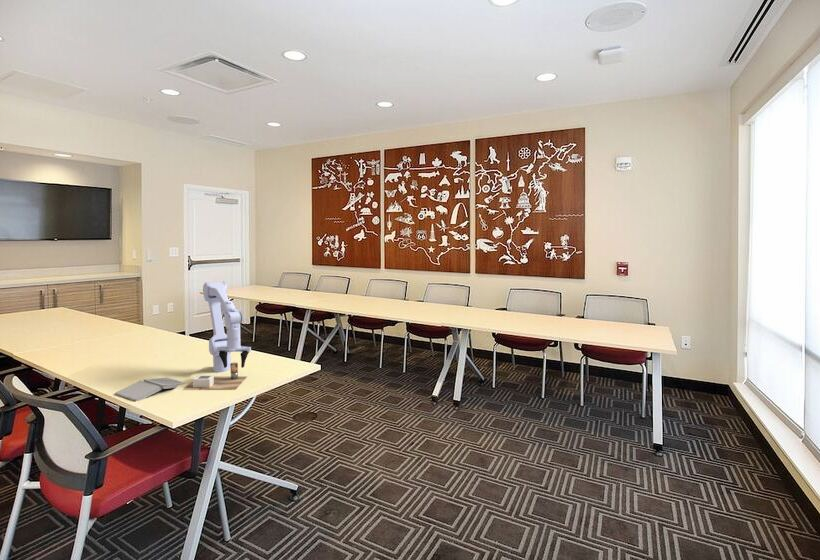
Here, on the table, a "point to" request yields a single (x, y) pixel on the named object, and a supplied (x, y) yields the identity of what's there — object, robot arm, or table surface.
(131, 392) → the grey bent flat piece
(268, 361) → the table surface
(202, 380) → the white open box
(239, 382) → the subfloor
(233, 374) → the copper and grey cylinder
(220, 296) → the robot arm
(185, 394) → the table surface
